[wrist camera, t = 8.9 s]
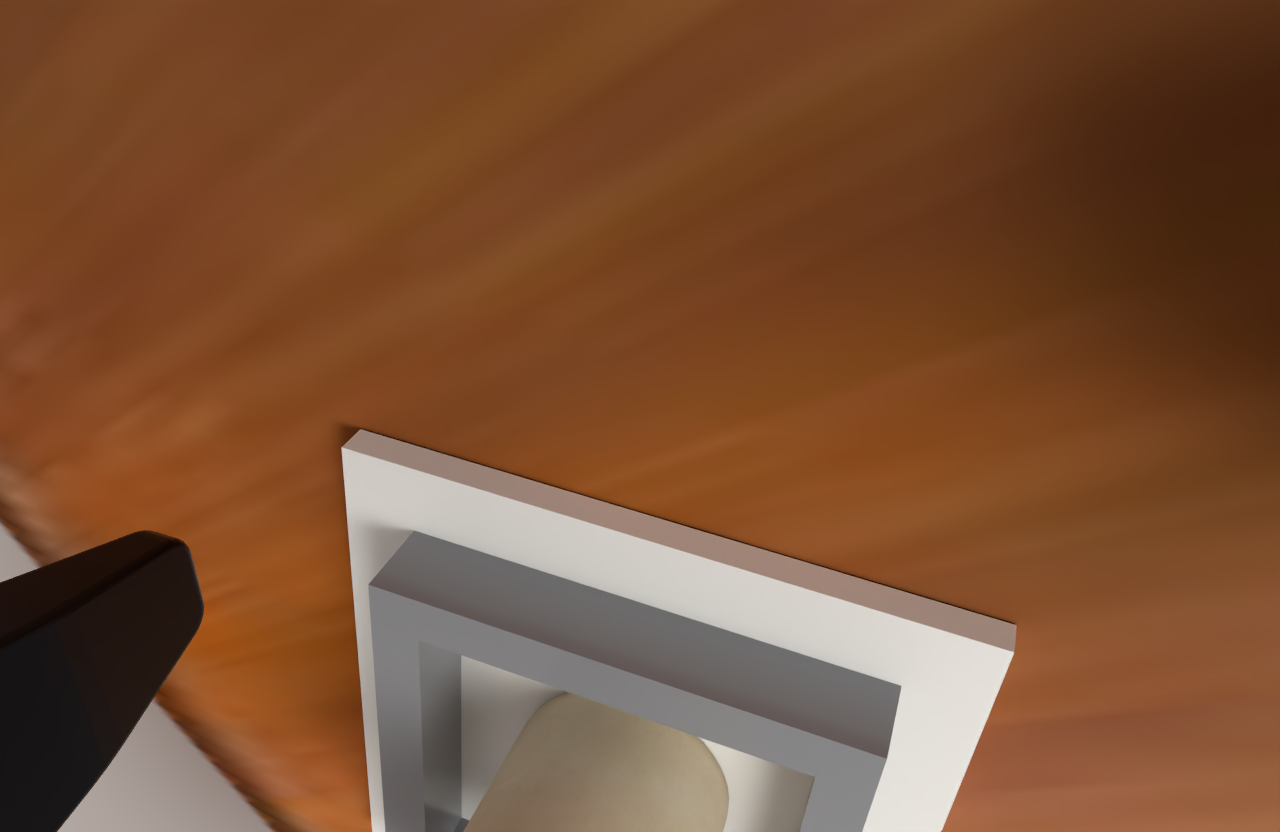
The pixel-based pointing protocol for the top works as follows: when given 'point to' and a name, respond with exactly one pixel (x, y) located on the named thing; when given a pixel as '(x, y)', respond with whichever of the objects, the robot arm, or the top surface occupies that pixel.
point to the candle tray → (644, 651)
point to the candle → (603, 776)
